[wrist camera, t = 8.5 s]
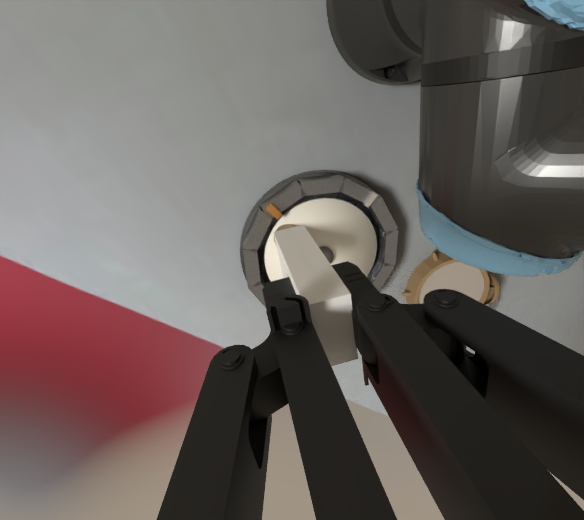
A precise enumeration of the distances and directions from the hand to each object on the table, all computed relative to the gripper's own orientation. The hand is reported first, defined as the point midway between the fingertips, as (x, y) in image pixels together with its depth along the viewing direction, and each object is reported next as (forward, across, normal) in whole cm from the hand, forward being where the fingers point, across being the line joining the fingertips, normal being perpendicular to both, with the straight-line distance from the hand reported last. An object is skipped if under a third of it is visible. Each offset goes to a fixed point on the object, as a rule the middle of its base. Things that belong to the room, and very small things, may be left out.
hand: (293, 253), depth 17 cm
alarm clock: (+25, +25, -24) cm, 43 cm away
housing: (+24, +6, -12) cm, 28 cm away
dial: (+23, +6, -12) cm, 27 cm away
